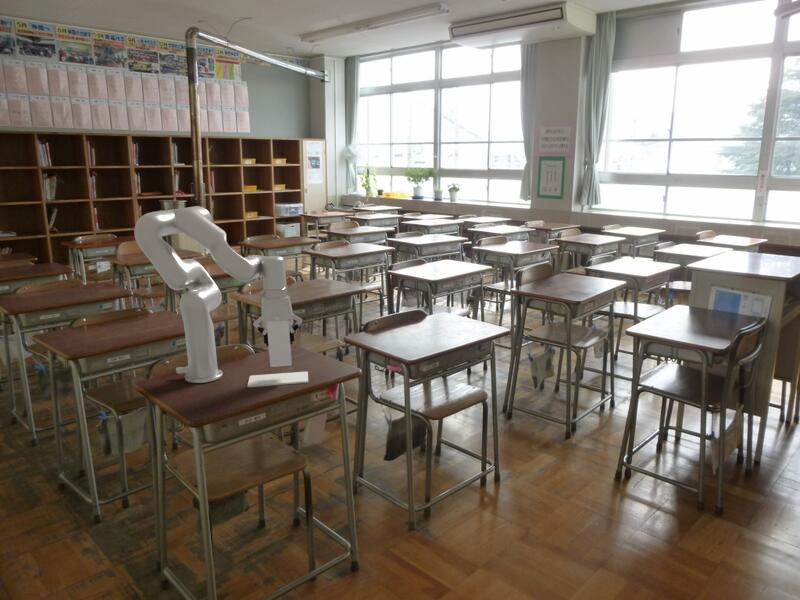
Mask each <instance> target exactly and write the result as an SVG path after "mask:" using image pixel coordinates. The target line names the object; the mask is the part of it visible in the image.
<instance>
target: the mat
mask: <svg viewBox="0 0 800 600" xmlns="http://www.w3.org/2000/svg"><path fill="white" fill-rule="evenodd" d="M308 383H309V372H308V370H307V371H296V372H295V371H294V372H281V373H270V374H269V373H268V374H253V375H249V378H248V382H247V386H246V387H247V388H256V387H257V388H258V387H270V386H285V385H296V384H297V385H298V384H308Z"/></svg>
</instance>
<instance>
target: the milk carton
mask: <svg viewBox="0 0 800 600" xmlns="http://www.w3.org/2000/svg"><path fill="white" fill-rule="evenodd" d="M274 318H275V320H279V319H280V317H279V316H278V317H277V316H276V317H275V316H274ZM267 333H268V345H269V346H268V355H269V357H268V358H269V366H270V368H275V367H276V368H278V367H286V366H287V367H289V366H290V367H291V366H292V364H293V363H292V352H291V351H292V349H291V344H290V334H289V333H290V330H289V321H267Z"/></svg>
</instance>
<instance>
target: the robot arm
mask: <svg viewBox="0 0 800 600" xmlns="http://www.w3.org/2000/svg"><path fill="white" fill-rule="evenodd" d="M212 217H213V216H212V215H211V213H210V211H209V210H208V209H207V208H205V207H203V206H201V205H195V206H190V207H189V206H188V207H181V208H172V209H164V210H157V211H152V212H147V213H145V214H143V215H141V216H140V217H139V218H138V220H137V221H136V224H135V226H134V240H135V243H136V245H137V246H138V247H139V249H140V250H141V251H142V253H143V254H144V255H145V256H146V258H147V259H148V261H150V263H151V264H152V266H153V267H154V268H155V270H156V272H157V273H158V275H159V276H160V277H161V278H162V279H163V281H164V283H165V284H166V285H167V286H168V287H169V289H172V290H173V291H181V290H186V289H188V291H185V293H183V294H182V296H181V297H180V299H179V305H178V306H179V311H180V315H181V317H182V322H183V327H184V328H183V330H184V335H185V336H184V337H185V345H186V355H187V365H186V366H178V367H176V368H175V373H176V374H178V375H185V376H184V379H185V381H186V382H188V383H191V384H204V383H209V382H214V381H216V380H218V379H219V380H220V379H221V378H222V377H223V374H224V373H223V371H222V370H221V369H218V359H217V349H216V338H215V329H214V323H213V320H212V317H211V314H210V312H212V311H213V310H215V309H217V308H218V307H220V305H221V303H222V299H223V295H222V292H221V290H220V288H219V286H218V285H217V284H216V282H215V281H214V279H213V278H212V277H211V276H210V274H209V272H208V271H207V270H206V269H205V267H204V266H203V265H202V264H201V263H200V262H199V261H197V260H196V259H193V258H184V259H182V258H181V257H180V255H179V254H178V253H177V252H176V251H175V248H174V247H172V246H171V245H170V244H169V243H167V241H166V240H164V238H163V237H166V236H170V235H174V234H176V235H177V234H185V235H186V236H187V237H189V238H190V240H193V241H194V242H195V243H197V244H198V245H199V246H201V248H203V249H204V250H205V251H207V252H208V253H209V254H210V256H211V257H212V259H213V261H214V262H215V263H216V265H217V266H218V267H219V268H220V269H221V270H222V271H224V272H225V273H227V274H228V275H229V276H231V277H232V278H233V279H235V280H237V281H239V282H243V283H246V282H250V281H253V280H254V279H257V278H259V277H262V285H263V289H262V290H259V292H258V293H259V295H260V296H263V297H262V298H261V306H260V308H261V310H260V311H261V316H260V317H258V318H257V319H256V320H255V321H254V322H252V325H253V326H254V328H255V329H256V330H257V331H259V332H260V333H261V334H262V336H263V343H264V344H266V347H269V345H268V333H267V321H289V334H290V346H291V345H293V342H295V332H296V331H297V329H298V328H299V327H300V326H301V324H302V323H303V319H302V318H301V317H299V316H297V315H296V314H294V313H293V307H292V302H291V298H290V295H288V288H287V276H286V273H287V272H286V263H285V258H284V257H283V256H281V255H269V256H265V255H258V254H250V255H249V256H246V257H243V256H242V255H240V254H238V253H237V252H236V251H235V250H234V249H233V248H232V247H231V246H230V245H229V243H228V242H227V233H226V231H225V230H223V229H222V228H221V227H219V226H218V225H216V224H215V223H214V222H213V218H212ZM274 316H275V317H276V316H277V317H278V316H279V317H280V319H279V320H275V318H274ZM294 321H296V323H295V324H294ZM260 323H261V325H262V326H261V325H260ZM293 324H294V325H293Z"/></svg>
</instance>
